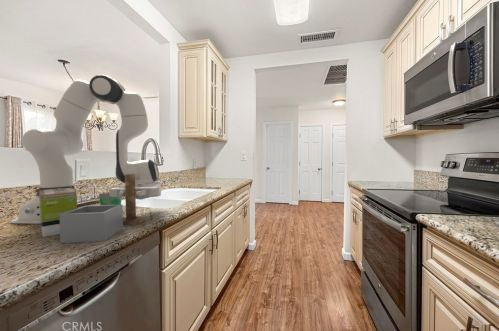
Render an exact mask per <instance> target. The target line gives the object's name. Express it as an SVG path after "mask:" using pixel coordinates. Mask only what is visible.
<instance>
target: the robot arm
mask: <svg viewBox="0 0 499 331" xmlns="http://www.w3.org/2000/svg"><path fill="white" fill-rule="evenodd" d="M98 102H102V103H107V104H111V105H116V106H117V107H118V109H119V113H120V117H121V118H120V119H121V124H120V128H119V129H117V131H116V134H115V153H116V154H115V156H116V157H115V159H116V162H115V163H116V165H115V177H116V179H117V180H118V181H119V182H121V183H123V184H125V174H135V195H136V200H145V199H149V198H154V197H161V196H162V183H161V181H160V182H159V180H158V179H159V177H160V176H159V175H160V172H159V168H158V165H157V164H156V163H155V161H153V160H151V159H143V160H142V159H141V160H137V161H129V160H128V158H129V157H128V154H129V153H128V145H129V143H130V142H131V141H132V140H134V139H136V138H137V137H139V136H141V135H143V134H144V133H145V132H146V131H147V130H148V126H149V120H148V114H147V110H146V107H145V104H144V101H143V99H142V97H141V95H139V93H136V92H133V91H132V92H131V91H126V88H124V86H123V85H122V84H121V83H120V82H119V81H118V80H116V79H115V78H113V77H111V76H109V75H105V74H98V75H94V76H93V77H92V78H91V79H90V80H89V82H88V81H86V80H83V79H82V80H81V79H77V80H74V81H73V82H72V83H71V84H70V86H69V87H68V88H67V90H66V91H65V92H64V93H63V95H62V96H61V99H60V100H59V102H58V104H57V105H56V108H55V109H54V111H53V117H54V118H55V119H56V120H55V121H56V124H55V128H54V129H49V128H48V129H47V128H34V129H29V130H27V131H26V132H24V134H23V135H22V136H21V143H22V144H21V145H22V146H23V148H24V149H25V150H26V151H27V152H29V153H30V154H31V155H32V157H33V159H34V160H35V162H36V164H37V167H38V170H39V182H40V184H39V185H40V187H38V188H37V189H33V193H36V194H35V197H33V198H32V199H30V200H29V201H27V202H25V203H24V204H23V205H21V206H20V208H19V210H18V216H17V217H16V218H13V219H11V220H10V224H34V225H35V224H37V225H38V224H40V225H41V218H40V200H39V191H40V190H49V189H60V188H72V189H73V190H74V191H76V190H75V185H74V175H73V174H74V173H73V171H74V170H73V168H72V166H70V165H69V163H68V162H67V159H66V157H65V156H71V155H76V154H78V153H80V152H81V151H82V150H83V148H84V142H83V141H84V140H82V132H83V128H84V126H85V123H86V122H87V120H88V117H89V116H90V113H91V112H92V111H93V110H92V109H93V108H94V106H95V104H96V103H98ZM108 191H109V192H108V193H109V194H110V197H121V198H125V186H118V187H117V186H116V187H112V188H109V190H108Z"/></svg>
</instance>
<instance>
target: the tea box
mask: <svg viewBox="0 0 499 331" xmlns="http://www.w3.org/2000/svg"><path fill="white" fill-rule="evenodd" d="M39 200H40V218H41V224H40V226H41V227H40V228H41V236H42V237H43V238H45V237H50V236H55V235H56V236H57V235H60V216H59V214H62V213H65V212H68V211H71V210H74V209H77V208H78V197H77V191H76V190H75V191H74V190H73V189H72V188H60V189H49V190H40V191H39Z"/></svg>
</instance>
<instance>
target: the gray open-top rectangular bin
mask: <svg viewBox="0 0 499 331" xmlns="http://www.w3.org/2000/svg"><path fill="white" fill-rule="evenodd" d="M59 216H60V234H59V238H60V244H67V243H71V244H72V243H87V242H89V243H90V242H105V241H107V240H108V239H110V238H111V237H112V236H115V234H118V232H120V231H121V230H123V229H124V225H123V217H124V216H123V204H121V205H100V204H98V205H97V204H95V205H83V206H80V207H77V209H74V210H71V211H68V212H65V213H62V214H59Z"/></svg>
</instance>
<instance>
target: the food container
mask: <svg viewBox="0 0 499 331" xmlns="http://www.w3.org/2000/svg"><path fill="white" fill-rule="evenodd" d="M98 199H99V205H122V197H110V194H109V192H107V193H98Z"/></svg>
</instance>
